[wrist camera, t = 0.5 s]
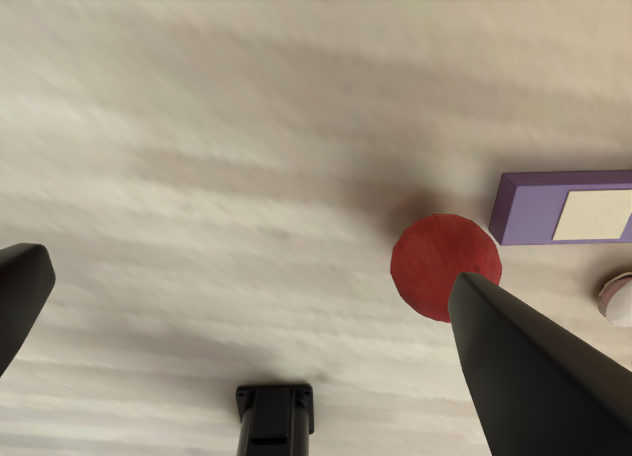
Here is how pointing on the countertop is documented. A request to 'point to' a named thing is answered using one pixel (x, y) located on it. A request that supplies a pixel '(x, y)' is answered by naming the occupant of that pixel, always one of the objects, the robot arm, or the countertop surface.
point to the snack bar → (563, 208)
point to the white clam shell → (617, 300)
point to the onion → (440, 261)
